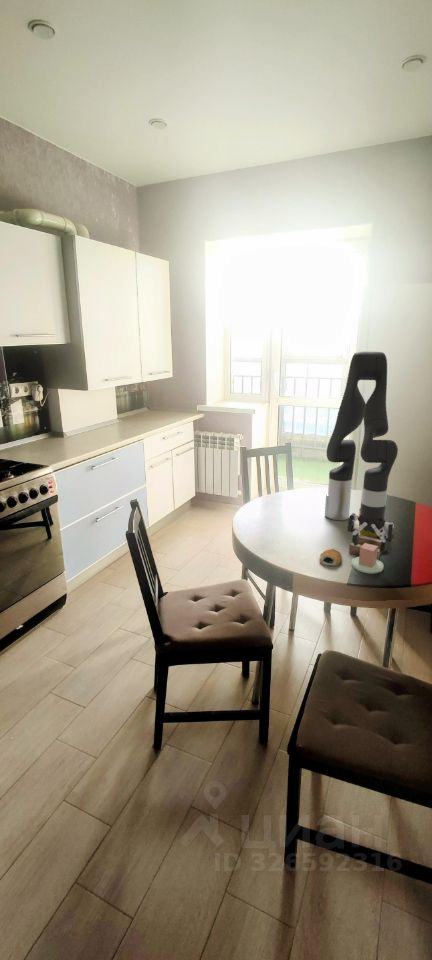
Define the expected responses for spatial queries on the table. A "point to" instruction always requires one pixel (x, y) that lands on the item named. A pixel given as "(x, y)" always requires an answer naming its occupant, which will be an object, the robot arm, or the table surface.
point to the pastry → (330, 557)
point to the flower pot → (367, 532)
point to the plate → (375, 569)
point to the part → (368, 555)
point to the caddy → (361, 541)
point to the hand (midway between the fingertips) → (368, 548)
